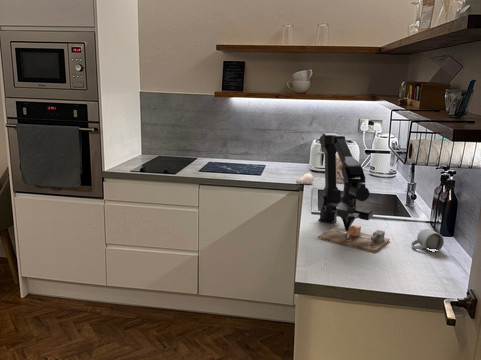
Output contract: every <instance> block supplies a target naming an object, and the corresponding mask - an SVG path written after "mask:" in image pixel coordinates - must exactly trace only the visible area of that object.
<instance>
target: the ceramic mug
mask: <svg viewBox="0 0 481 360" xmlns="http://www.w3.org/2000/svg"><path fill="white" fill-rule="evenodd" d="M444 242H445V240H444V237H443V235H442V234H441V233H438V232H437V231H434V230H432V229H430V228H424V229H421V230H420V231H419V232H418V233H417V237H416V239H415V240H414V241H412V242H411V243H410V245H411V249H413V248H414V249H419V250H422V249H425V250H426V251H428V252H429V251H430V250H428V249H427V248H429V249H436V250H438V251H437V252H439V251H441V250H442V248H443V247H444V244H445V243H444ZM418 244H419V245H418ZM415 245H416V246H415ZM414 249H413V250H414ZM419 250H418V251H419Z"/></svg>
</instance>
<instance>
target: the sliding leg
mask: <svg viewBox="0 0 481 360" xmlns="http://www.w3.org/2000/svg"><path fill="white" fill-rule="evenodd" d="M361 229H362V226H361V225H357V224H352V225H351V227H350V228H349V231H347V239H349V235H352V236H357V235H358V234H360V232H361V231H362V230H361Z"/></svg>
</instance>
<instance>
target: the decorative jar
mask: <svg viewBox="0 0 481 360" xmlns="http://www.w3.org/2000/svg"><path fill="white" fill-rule="evenodd" d="M352 156H353V158H354V159H355V160H356V158H355V156H354V155H352ZM341 168H342V162H341V160H340V157H339V155H338V154H336V184H344V181H342V180H343V179H344V177H343V175H342V170H341ZM352 179H356V178H352Z"/></svg>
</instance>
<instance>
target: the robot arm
mask: <svg viewBox="0 0 481 360" xmlns="http://www.w3.org/2000/svg"><path fill="white" fill-rule="evenodd" d="M319 143H320V149H321V150H322V152H323V153H324V179H325V180H324V182H325V183H324V185H325V186H324V188H323V190H322V192H321V196H320V197H319V200H318V201H317V207H318V208H319V209H320V212H319V213H320V214H319V219H318V220H317V221H318V222H320V223H321V222H322V223H327V224H333V223H335V222H336V221H337V220H338V219H337V216H338V217H340V218H341V220H342V223H343V225H344V227H343V228H344V229H345V230H346V231H349V228H350V227H351V226H353V223H354V221H355V219H357V218H359V219H360V220H364V221H370V220H371V219H372V218H374V212H373V210H371V209H365V208H364V209H362V210H358V205H357V204H358V201H359V202H365V201H367V199H368V198H369V197H370V190H369V189H368V188H367V187H366V176H365V173H364V169H363V166H362V164H361V163H360V162H359V160H357V159H356V158H355V159H354V158H353V156H354V155H353V154H352V153H351V150H350V147H349V146H348V143H347V141H346V137H345V135H343V134H338V133H322V135H321V136H320V137H319ZM336 155H339V157H340V160H341V162H342V168H341V170H342V175H343V177H344V179H343V180H342V181H344V183H343V191H342V192H341V189H339V188H338V186H337V183H336ZM352 178H355V179H352ZM341 195H342V196H341Z"/></svg>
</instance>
